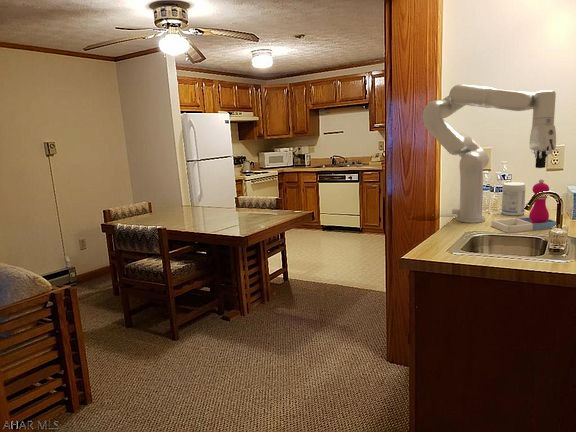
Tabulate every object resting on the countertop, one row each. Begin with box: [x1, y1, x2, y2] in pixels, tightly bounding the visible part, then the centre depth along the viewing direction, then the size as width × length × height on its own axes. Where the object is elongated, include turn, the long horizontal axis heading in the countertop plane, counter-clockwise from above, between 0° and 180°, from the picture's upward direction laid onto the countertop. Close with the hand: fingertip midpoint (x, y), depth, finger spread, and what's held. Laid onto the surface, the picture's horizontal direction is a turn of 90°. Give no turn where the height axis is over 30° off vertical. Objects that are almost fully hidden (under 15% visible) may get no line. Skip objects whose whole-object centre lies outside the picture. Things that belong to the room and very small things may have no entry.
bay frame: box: [490, 216, 557, 234], centre depth 179 cm, size 22×12×2 cm, turn 96°
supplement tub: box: [501, 181, 526, 217], centre depth 201 cm, size 10×10×15 cm
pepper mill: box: [528, 178, 550, 224], centre depth 177 cm, size 7×7×20 cm
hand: (540, 167), depth 174 cm, fingers closed
